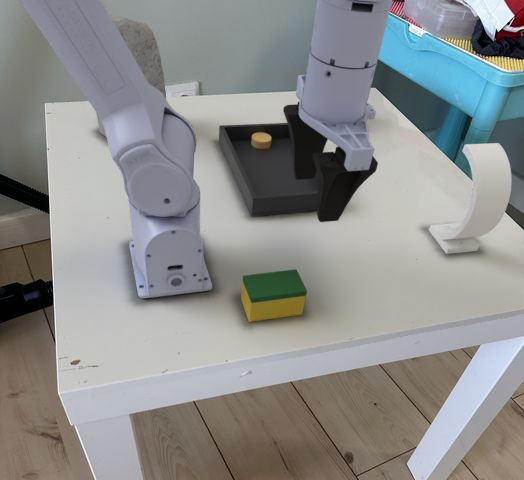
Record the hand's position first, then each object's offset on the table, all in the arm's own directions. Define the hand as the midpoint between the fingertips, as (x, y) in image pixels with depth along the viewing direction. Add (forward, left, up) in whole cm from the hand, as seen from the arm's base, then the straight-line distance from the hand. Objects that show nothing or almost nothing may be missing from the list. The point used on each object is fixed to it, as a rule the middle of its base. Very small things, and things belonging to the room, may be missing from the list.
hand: (315, 197), depth 52 cm
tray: (+20, -3, -10) cm, 23 cm away
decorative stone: (+35, +15, -10) cm, 39 cm away
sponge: (-6, +6, -10) cm, 12 cm away
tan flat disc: (+28, -3, -9) cm, 29 cm away
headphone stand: (+1, -22, -10) cm, 24 cm away
